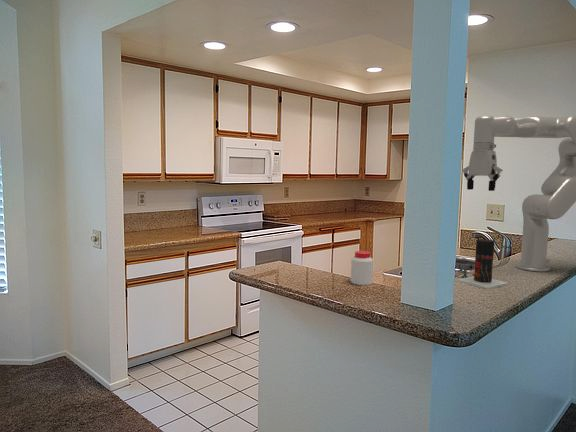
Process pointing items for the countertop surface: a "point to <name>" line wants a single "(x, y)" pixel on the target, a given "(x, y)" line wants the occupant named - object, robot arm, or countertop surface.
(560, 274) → the countertop surface
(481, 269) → the deodorant
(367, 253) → the pill bottle
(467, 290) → the countertop surface
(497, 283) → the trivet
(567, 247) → the countertop surface
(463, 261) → the ring stand
